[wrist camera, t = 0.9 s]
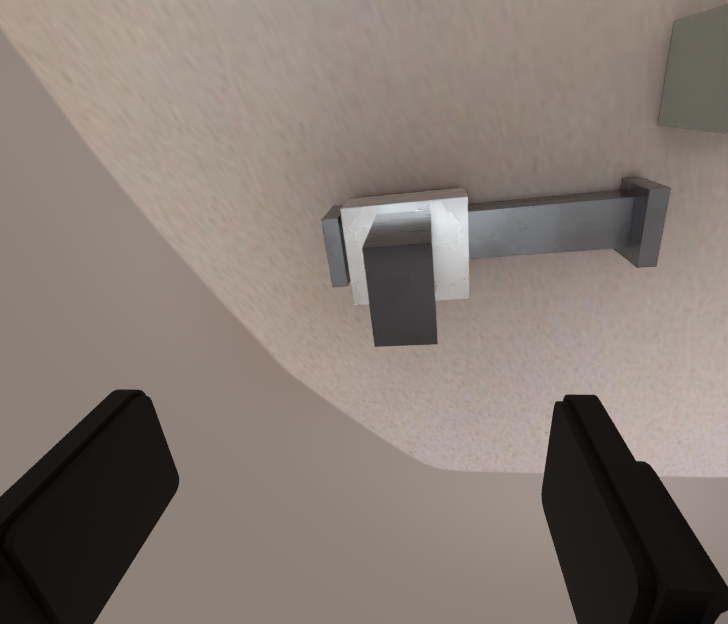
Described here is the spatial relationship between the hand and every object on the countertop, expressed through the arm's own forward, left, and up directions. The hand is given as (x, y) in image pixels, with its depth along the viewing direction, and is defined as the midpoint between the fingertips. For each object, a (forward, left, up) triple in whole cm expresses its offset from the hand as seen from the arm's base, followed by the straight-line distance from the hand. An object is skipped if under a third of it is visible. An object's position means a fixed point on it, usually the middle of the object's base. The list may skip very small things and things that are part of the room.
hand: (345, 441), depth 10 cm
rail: (-5, +1, -21) cm, 22 cm away
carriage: (-1, +1, -21) cm, 21 cm away
